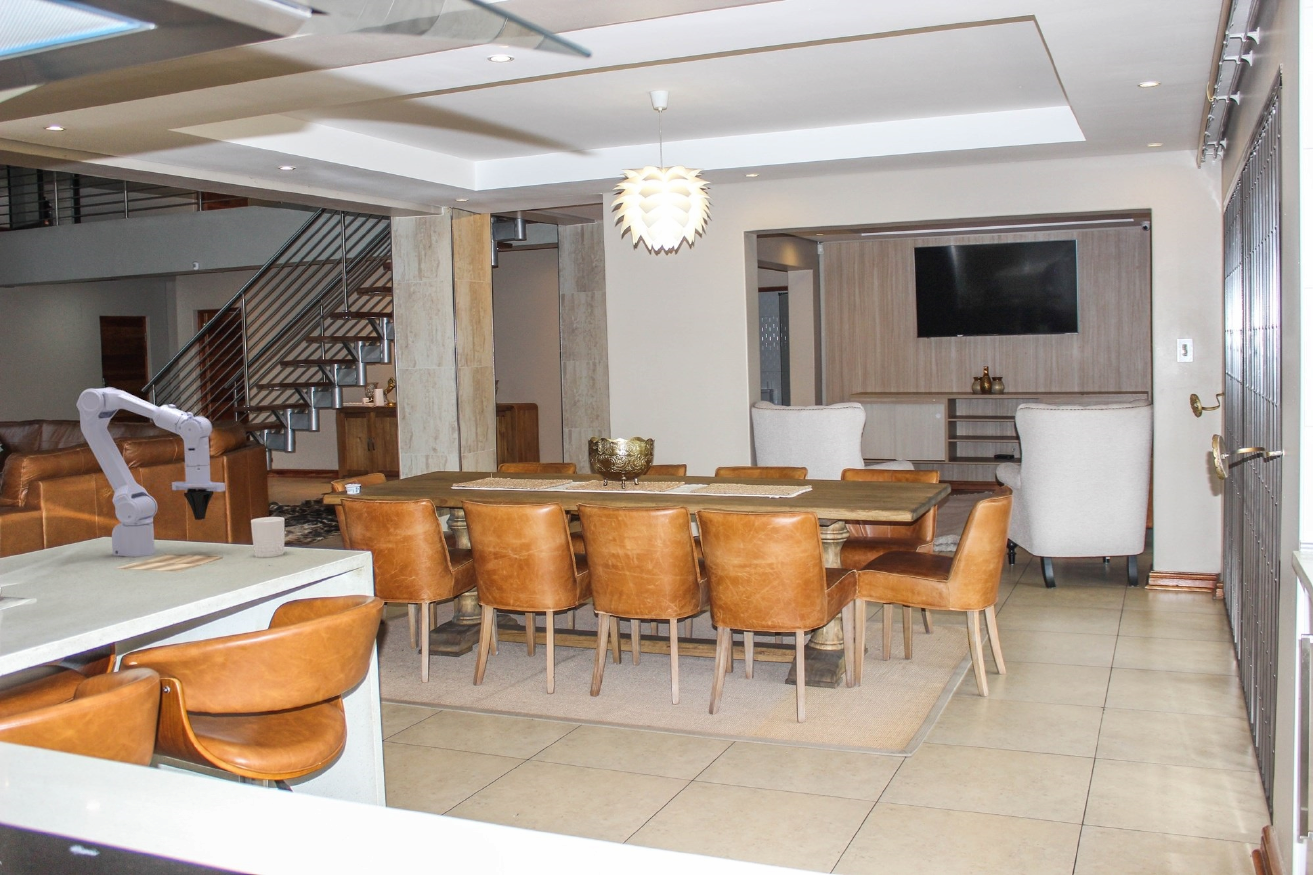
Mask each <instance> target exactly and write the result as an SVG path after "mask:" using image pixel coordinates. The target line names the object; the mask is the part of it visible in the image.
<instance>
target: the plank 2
mask: <svg viewBox="0 0 1313 875" xmlns="http://www.w3.org/2000/svg"><path fill="white" fill-rule="evenodd" d="M223 558H224V556H221V555H220V556H219V555H203V554H201V555H200V554H194V556H192V557H189V558H186V559H183V560H180V561H177V562H174V563H176V564H197V565H200V566H202V565H204V564H208V563H211V562H215V561H218V560H221V559H223Z"/></svg>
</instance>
